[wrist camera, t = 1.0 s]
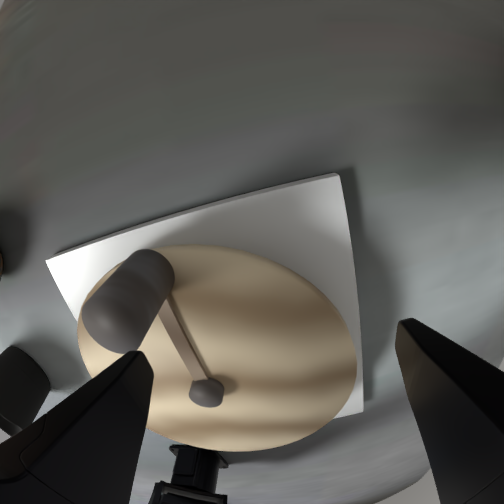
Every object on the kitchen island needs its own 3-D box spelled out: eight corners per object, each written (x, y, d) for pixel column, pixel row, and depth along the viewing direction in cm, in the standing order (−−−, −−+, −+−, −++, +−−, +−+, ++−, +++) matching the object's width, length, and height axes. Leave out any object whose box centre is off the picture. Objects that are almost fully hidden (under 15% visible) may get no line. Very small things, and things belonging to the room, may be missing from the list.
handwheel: (354, 411, 24) (367, 479, 17) (161, 429, 27) (144, 486, 20) (325, 188, 16) (369, 236, 9) (52, 265, 19) (-10, 318, 12)
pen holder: (0, 353, 29) (-33, 395, 19) (13, 333, 26) (-30, 382, 17) (42, 397, 31) (15, 442, 22) (62, 385, 29) (29, 440, 19)
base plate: (361, 403, 25) (363, 411, 24) (161, 424, 29) (158, 432, 28) (334, 172, 17) (339, 175, 16) (53, 254, 21) (45, 260, 20)
